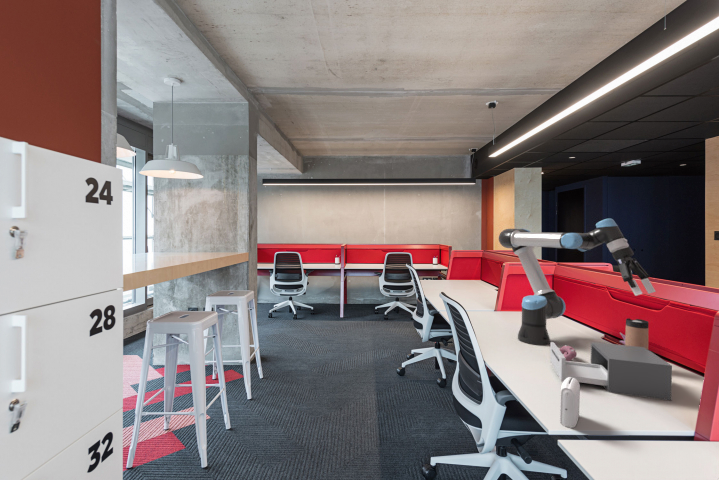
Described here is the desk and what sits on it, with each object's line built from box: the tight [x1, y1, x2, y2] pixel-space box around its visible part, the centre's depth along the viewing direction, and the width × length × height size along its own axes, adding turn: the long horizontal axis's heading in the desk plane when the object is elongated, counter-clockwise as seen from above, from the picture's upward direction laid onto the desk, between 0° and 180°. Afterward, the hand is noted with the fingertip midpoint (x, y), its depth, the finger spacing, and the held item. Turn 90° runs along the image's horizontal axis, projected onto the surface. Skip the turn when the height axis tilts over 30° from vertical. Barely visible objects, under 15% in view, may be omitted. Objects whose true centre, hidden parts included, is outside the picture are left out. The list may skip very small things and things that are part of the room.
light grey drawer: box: [549, 341, 608, 387], centre depth 131 cm, size 18×20×9 cm
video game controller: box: [558, 344, 577, 361], centre depth 152 cm, size 10×5×7 cm, turn 169°
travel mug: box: [624, 317, 650, 350], centre depth 143 cm, size 8×8×20 cm
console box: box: [590, 341, 673, 401], centre depth 126 cm, size 18×20×12 cm
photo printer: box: [559, 377, 581, 429], centre depth 101 cm, size 10×4×12 cm, turn 140°
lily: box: [619, 331, 625, 345], centre depth 157 cm, size 12×12×10 cm
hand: (645, 293), depth 146 cm, fingers open, 13 cm apart
